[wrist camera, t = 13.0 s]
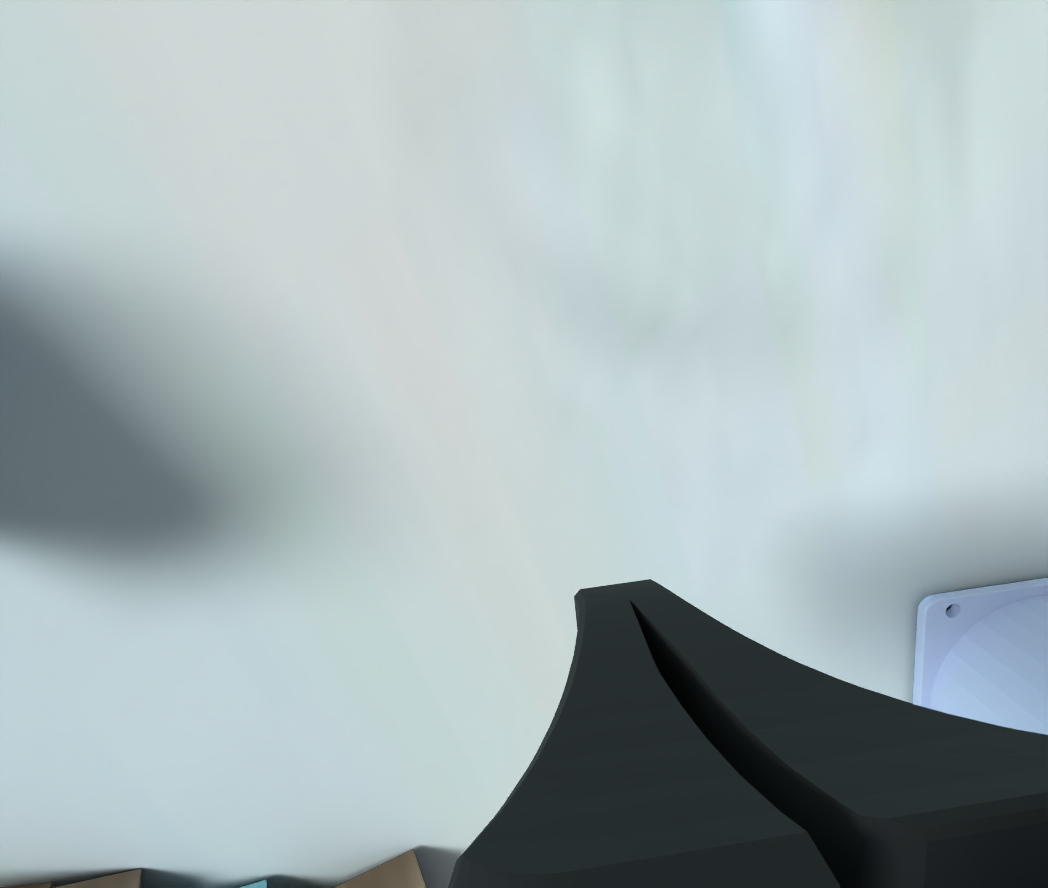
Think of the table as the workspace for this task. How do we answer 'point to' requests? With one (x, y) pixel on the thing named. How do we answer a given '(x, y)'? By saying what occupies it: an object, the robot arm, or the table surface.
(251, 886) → the domino
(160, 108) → the table surface
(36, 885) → the end domino
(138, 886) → the domino
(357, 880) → the domino
